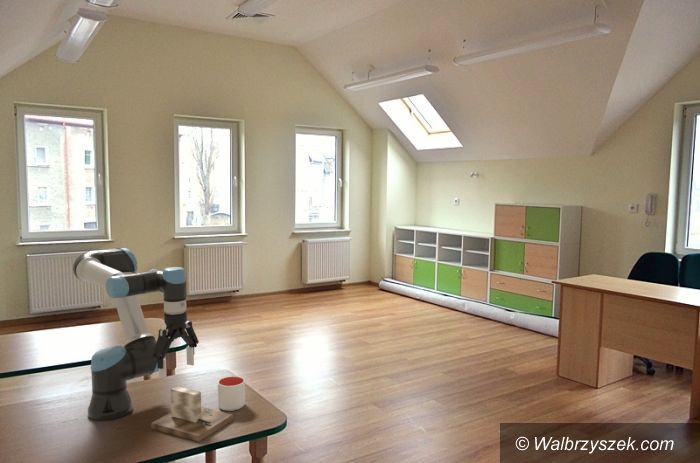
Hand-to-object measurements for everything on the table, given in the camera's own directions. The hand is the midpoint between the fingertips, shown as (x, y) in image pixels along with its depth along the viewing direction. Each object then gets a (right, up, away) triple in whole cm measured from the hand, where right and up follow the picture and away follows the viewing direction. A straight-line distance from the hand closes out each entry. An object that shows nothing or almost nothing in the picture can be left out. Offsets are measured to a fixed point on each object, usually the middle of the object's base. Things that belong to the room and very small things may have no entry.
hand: (176, 370), depth 190 cm
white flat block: (+6, -17, -1) cm, 18 cm away
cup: (+16, -18, +15) cm, 28 cm away
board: (+6, -19, 0) cm, 20 cm away
